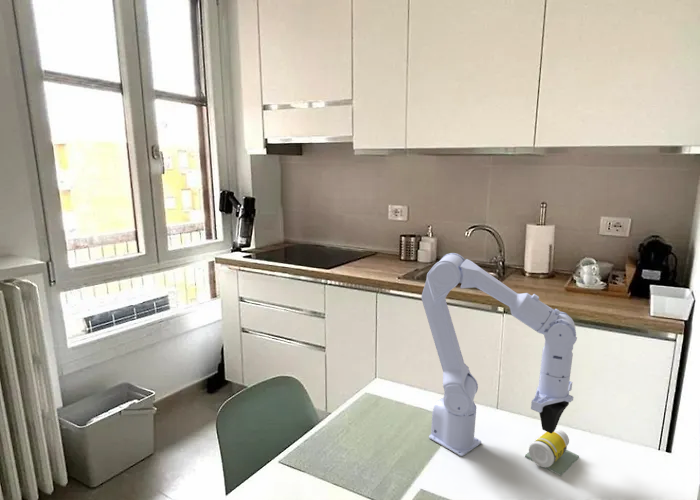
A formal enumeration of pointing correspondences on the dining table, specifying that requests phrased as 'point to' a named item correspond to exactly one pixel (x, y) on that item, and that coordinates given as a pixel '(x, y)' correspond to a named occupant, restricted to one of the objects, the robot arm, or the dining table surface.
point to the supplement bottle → (548, 448)
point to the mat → (561, 462)
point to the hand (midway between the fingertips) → (548, 430)
